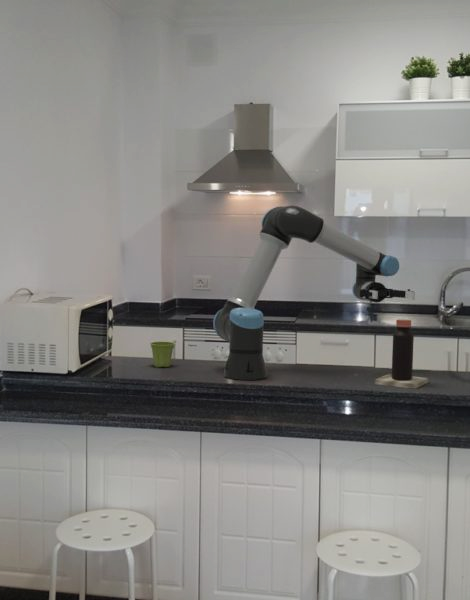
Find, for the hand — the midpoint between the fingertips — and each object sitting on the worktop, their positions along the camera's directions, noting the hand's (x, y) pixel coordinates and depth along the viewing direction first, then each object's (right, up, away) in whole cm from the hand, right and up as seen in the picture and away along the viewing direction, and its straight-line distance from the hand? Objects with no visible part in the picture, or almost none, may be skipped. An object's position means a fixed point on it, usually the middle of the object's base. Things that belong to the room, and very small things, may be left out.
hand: (395, 295), depth 246 cm
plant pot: (-83, -27, +19) cm, 89 cm away
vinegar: (+1, -28, -7) cm, 29 cm away
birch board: (+1, -30, -7) cm, 30 cm away
